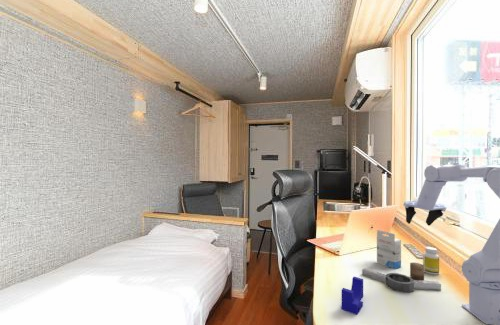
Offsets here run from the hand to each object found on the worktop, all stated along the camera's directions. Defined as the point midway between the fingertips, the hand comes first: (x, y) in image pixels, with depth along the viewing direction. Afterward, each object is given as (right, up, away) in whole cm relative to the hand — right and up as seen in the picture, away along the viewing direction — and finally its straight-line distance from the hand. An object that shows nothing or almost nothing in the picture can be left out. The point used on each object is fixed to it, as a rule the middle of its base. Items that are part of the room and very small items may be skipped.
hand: (417, 223), depth 102 cm
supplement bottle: (+7, -21, +2) cm, 22 cm away
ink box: (-7, -21, +9) cm, 24 cm away
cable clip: (-35, -20, -23) cm, 46 cm away
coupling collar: (-12, -20, -8) cm, 25 cm away
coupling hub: (-4, -20, -6) cm, 22 cm away
